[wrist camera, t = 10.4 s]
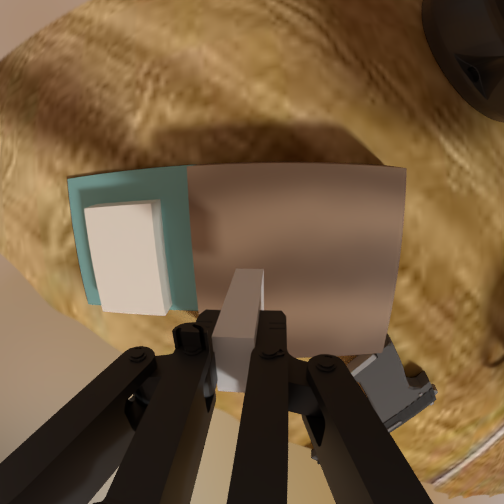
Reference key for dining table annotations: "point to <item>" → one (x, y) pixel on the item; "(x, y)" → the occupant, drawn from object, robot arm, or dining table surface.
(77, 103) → the dining table surface
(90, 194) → the mat
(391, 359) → the handgun
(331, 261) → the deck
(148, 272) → the white rectangular block
